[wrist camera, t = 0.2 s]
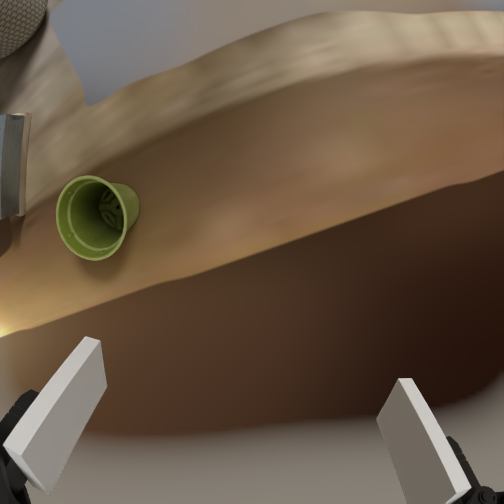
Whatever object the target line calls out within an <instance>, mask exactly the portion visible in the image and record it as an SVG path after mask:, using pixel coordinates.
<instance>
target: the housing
mask: <svg viewBox="0 0 504 504" xmlns="http://www.w3.org/2000/svg"><path fill="white" fill-rule="evenodd" d="M24 117H25V116H24V115H11V114H5V115H0V220H2V219H5V218H7V217H10V216H13V215H16V214H19V168H20V153H21V141H22V132H23V124H24Z"/></svg>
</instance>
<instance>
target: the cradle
mask: <svg viewBox="0 0 504 504" xmlns="http://www.w3.org/2000/svg"><path fill="white" fill-rule="evenodd" d="M11 115H24V116H25V117H24V124H23V132H22V141H21V153H20V168H19V214H16V215H13V216H23V215H25V184H26V163H27V149H28V139H29V130H30V122H31V115H32V113H27V112H25V113H17V114H11Z"/></svg>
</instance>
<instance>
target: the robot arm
mask: <svg viewBox="0 0 504 504" xmlns="http://www.w3.org/2000/svg"><path fill="white" fill-rule="evenodd" d="M106 383H107V382H106V377H105V370H104V364H103V357H102V350H101V341H100V340H96V339H93V338H90V337H84V338H83V340H82V341H81V342H80V343H79V345H78V346H77V347H76V348H75V349H74V351H73V352H72V353H71V354H70V356H69V357H68V358H67V359H66V360H65V362H64V363H63V364H62V365H61V367H60V368H59V369H58V370H57V372H56V373H55V374H54V376H53V377H52V378H51V379H50V381H49V382H48V383H47V384H46V386H45V387H44V388H43V390H42V391H41V392H40V393H38V392H36V391H34V390H29V391H28V392H26V393H24V394H23V395H21V396H20V397H19V399H18V400H17V401H16V402H15V404H14V406H12V408H11V409H10V410H9V413H7V414H6V415H5V417H4V418H3V420H2V421H1V422H0V504H31V502H30V499H29V495H28V493H27V489H26V487H25V485H24V484H25V483H26V481H27V480H28V481H29V482H30V483H31V485H32V486H33V487H35V488H37V489H39V490H41V491H43V492H44V493H46V494H48V495H50V494H51V492H52V490H53V488H54V486H55V484H56V482H57V480H58V478H59V476H60V474H61V472H62V470H63V468H64V466H65V464H66V462H67V460H68V458H69V456H70V454H71V452H72V450H73V448H74V446H75V444H76V442H77V440H78V439H79V437H80V435H81V433H82V431H83V429H84V427H85V426H86V424H87V422H88V420H89V418H90V416H91V414H92V413H93V411H94V409H95V407H96V405H97V404H98V402H99V400H100V398H101V397H102V395H103V393H104V391H105V390H106V388H107V384H106ZM376 420H377V423H378V425H379V428H380V430H381V433H382V435H383V438H384V441H385V443H386V446H387V448H388V451H389V454H390V456H391V459H392V462H393V465H394V468H395V470H396V473H397V476H398V479H399V482H400V484H401V487H402V490H403V493H404V496H405V499H406V502H407V504H504V492H494V491H493V490H492V489H491V488H489V487H486V486H482V487H481V486H480V484H479V483H478V480H477V478H476V477H475V475H474V473H473V471H472V469H471V467H470V465H469V463H468V461H466V458H465V456H464V454H462V450H461V448H460V447H459V445H458V443H457V442H456V441H455V440H454V439H452V438H451V437H450V436H448V437H445V436H444V434H443V432H442V430H441V428H440V426H439V425H438V423H437V421H436V419H435V417H434V416H433V414H432V412H431V410H430V409H429V407H428V405H427V404H426V402H425V400H424V398H423V397H422V395H421V393H420V392H419V390H418V388H417V387H416V385H415V383H414V382H413V380H412V379H411V378H405V379H398V380H397V382H396V384H395V386H394V388H393V390H392V392H391V394H390V396H389V398H388V399H387V401H386V403H385V405H384V407H383V408H382V410H381V412H380V413H379V415H378V417H377V419H376Z"/></svg>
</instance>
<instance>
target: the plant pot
mask: <svg viewBox="0 0 504 504" xmlns="http://www.w3.org/2000/svg"><path fill="white" fill-rule="evenodd" d="M108 192H111V193H110V194H109V195H108V196H107V198H106V199H105V196H106V194H107V193H108ZM118 205H119V206H120V208H119V209H117V208H116V207H117V206H118ZM106 215H108V217H109V218H110V219H111V221H113V222H110V221H109V220H108V219H107V218H106ZM138 215H139V200H138V197H137V195H136V193H135V192H134V191H133V190H132V189H131V188H130V187H128V186H127V185H124V184H117V183H109V182H107V181H106V180H104V179H102V178H100V177H97V176H90V175H89V176H81V177H78V178H76V179H74V180H72V181H71V182H70V183H68V184H67V185H66V187H65V188H64V189H63V191H62V192H61V194H60V196H59V199H58V202H57V207H56V223H57V227H58V231H59V234H60V236H61V238H62V240H63V242H64V243H65V245H66V246H67V247H68V248H69V249H70V250H71V251H72V252H73V253H74V254H76V255H77V256H79V257H81V258H83V259H86V260H92V261H97V260H102V259H105V258H107V257H109V256H111V255H112V254H113V253H115V252H116V251H117V249H118V248H119V247H120V245H121V244H122V242H123V240H124V238H125V235H126V231H127V230H128V229H129V228H130V227H131V226H132V225H133V224H134V222H135V221H136V220H137V218H138Z"/></svg>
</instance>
